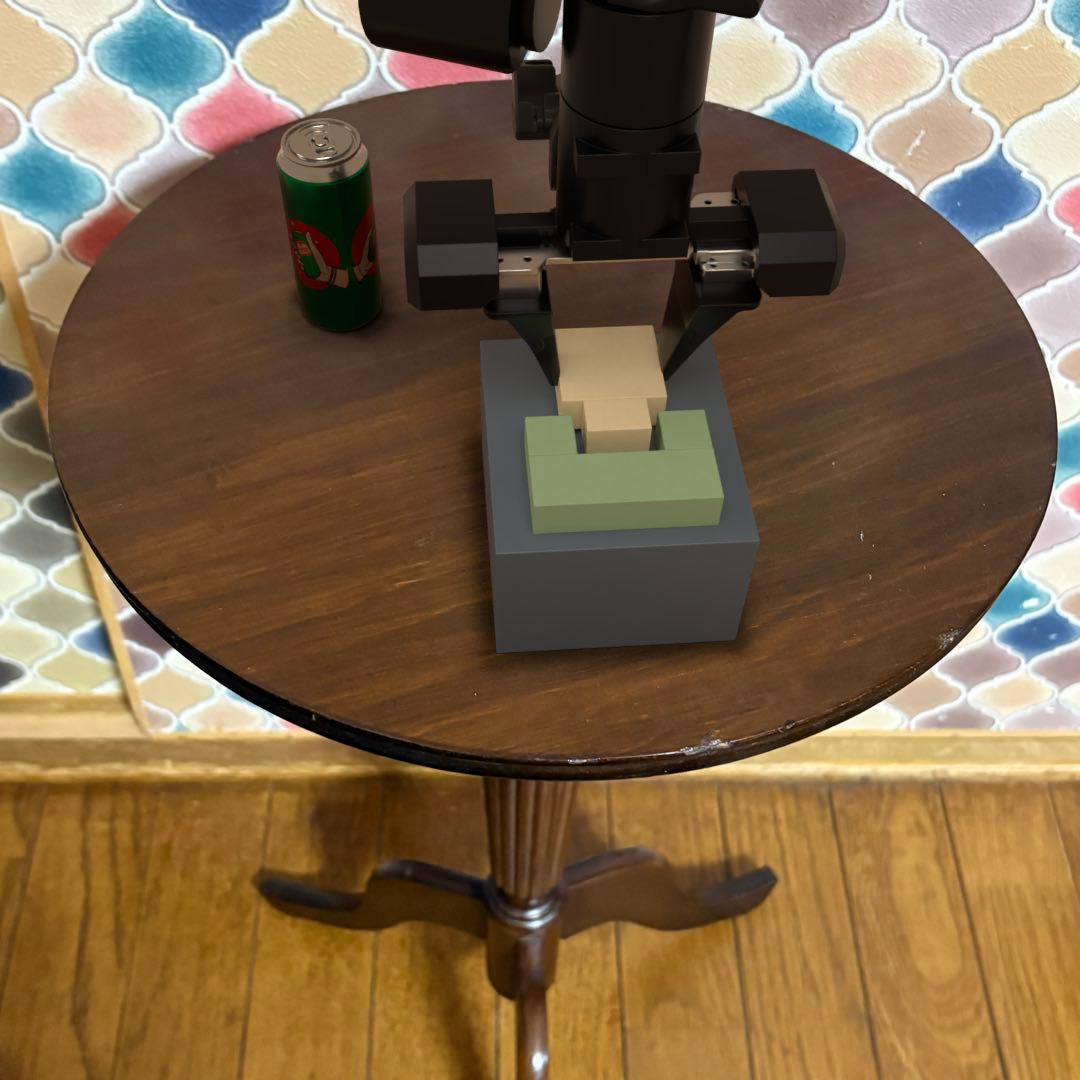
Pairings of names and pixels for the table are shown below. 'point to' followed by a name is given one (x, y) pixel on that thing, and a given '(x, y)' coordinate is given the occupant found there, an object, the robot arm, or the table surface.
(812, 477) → the table surface
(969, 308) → the table surface
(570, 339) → the cream pad
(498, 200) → the table surface
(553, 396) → the block
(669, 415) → the green pad
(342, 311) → the soda can
